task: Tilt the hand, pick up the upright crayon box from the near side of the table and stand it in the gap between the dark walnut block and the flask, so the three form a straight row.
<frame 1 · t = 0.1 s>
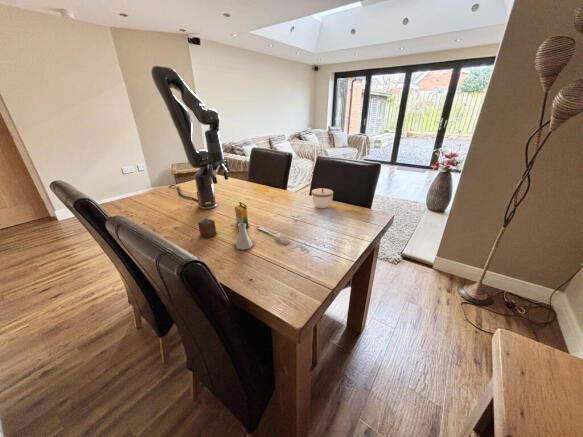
hand: (221, 181, 129), 17 cm above the table, tool pointing down, fingers open, 8 cm apart
walnut block: (208, 234, 109), on the table
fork: (272, 235, 108), on the table
crayon box: (242, 225, 118), on the table
flask: (244, 246, 100), on the table
lidded bowl: (321, 206, 140), on the table
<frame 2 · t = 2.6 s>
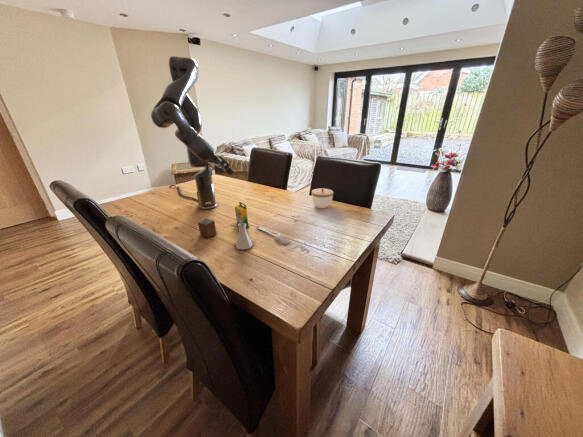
hand: (227, 172, 109), 26 cm above the table, tool tilted 40°, fingers open, 8 cm apart
nothing on the table moved.
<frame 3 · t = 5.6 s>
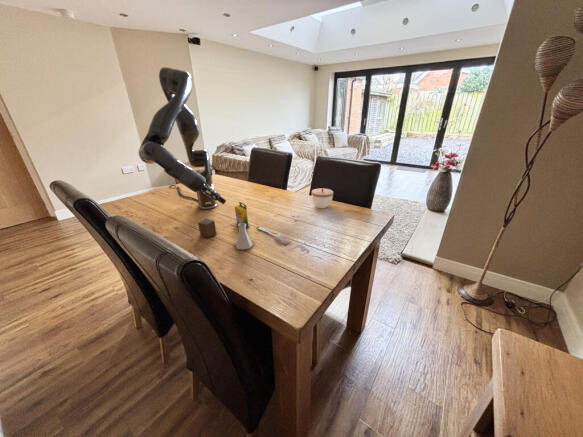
hand: (221, 199, 107), 16 cm above the table, tool tilted 45°, fingers open, 8 cm apart
nothing on the table moved.
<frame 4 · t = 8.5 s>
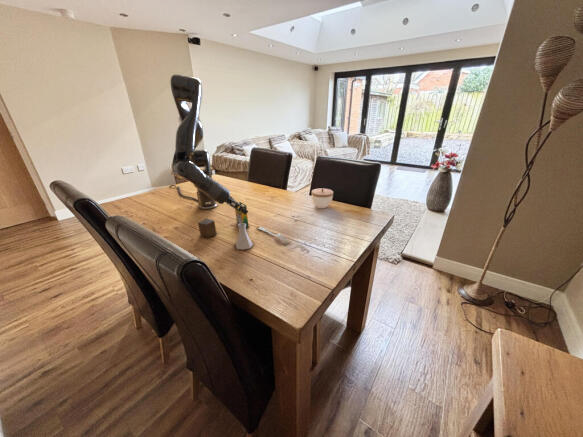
hand: (243, 210, 115), 8 cm above the table, tool tilted 45°, fingers closed on crayon box, 7 cm apart
crayon box: (242, 225, 118), on the table, touching gripper
everything else where it was.
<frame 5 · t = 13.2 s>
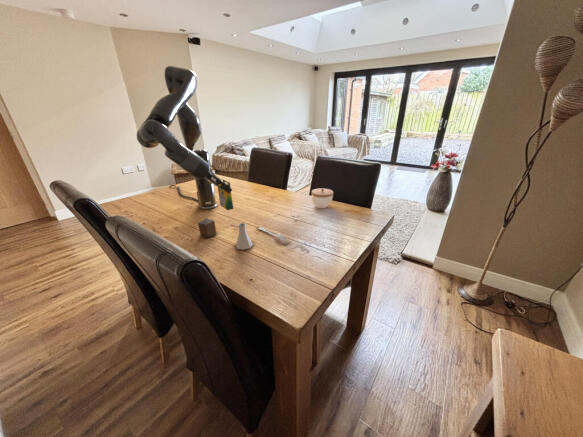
hand: (227, 188, 99), 22 cm above the table, tool tilted 45°, fingers closed on crayon box, 7 cm apart
crayon box: (226, 207, 102), point 14 cm above the table, touching gripper
everything else where it was.
when the fingers open (8 cm above the table, at t = 18.1 s): crayon box stays where it is, on the table.
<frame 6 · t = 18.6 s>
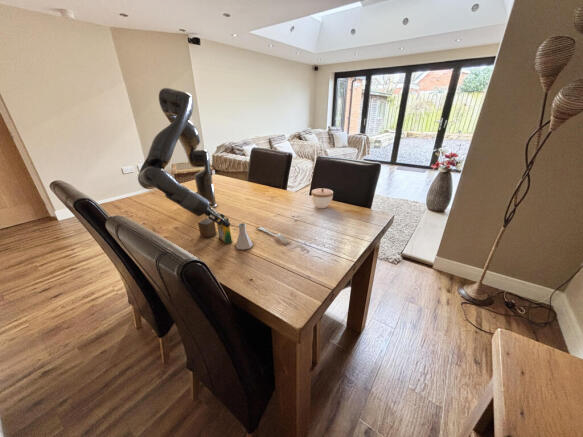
hand: (226, 221, 102), 9 cm above the table, tool tilted 45°, fingers open, 8 cm apart
crayon box: (225, 240, 105), on the table
everything else where it was.
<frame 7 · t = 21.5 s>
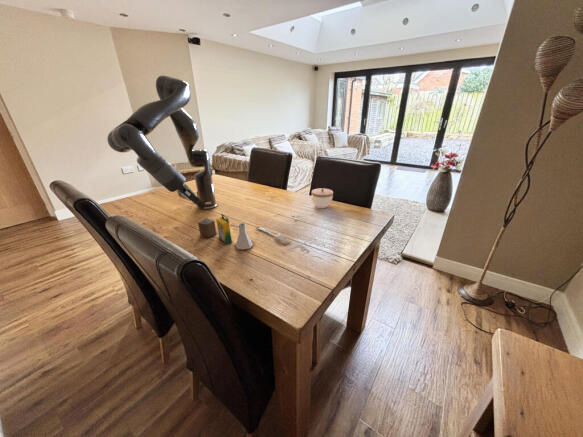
hand: (200, 204, 95), 18 cm above the table, tool tilted 35°, fingers open, 8 cm apart
nothing on the table moved.
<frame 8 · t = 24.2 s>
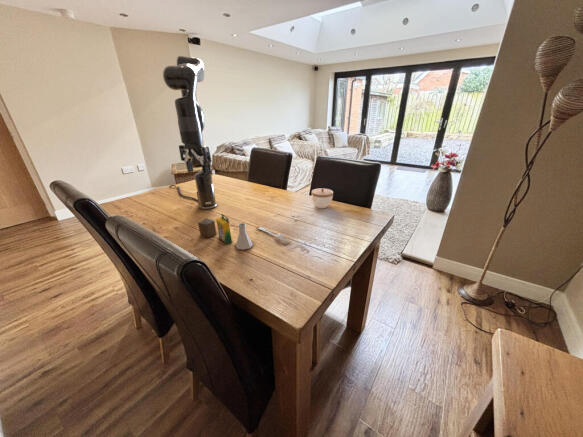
hand: (198, 172, 94), 30 cm above the table, tool pointing down, fingers open, 8 cm apart
nothing on the table moved.
at the end: crayon box 0.1 cm from the target spot, on the table; crayon box tilted 0°; flask moved 0.2 cm from its start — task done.
